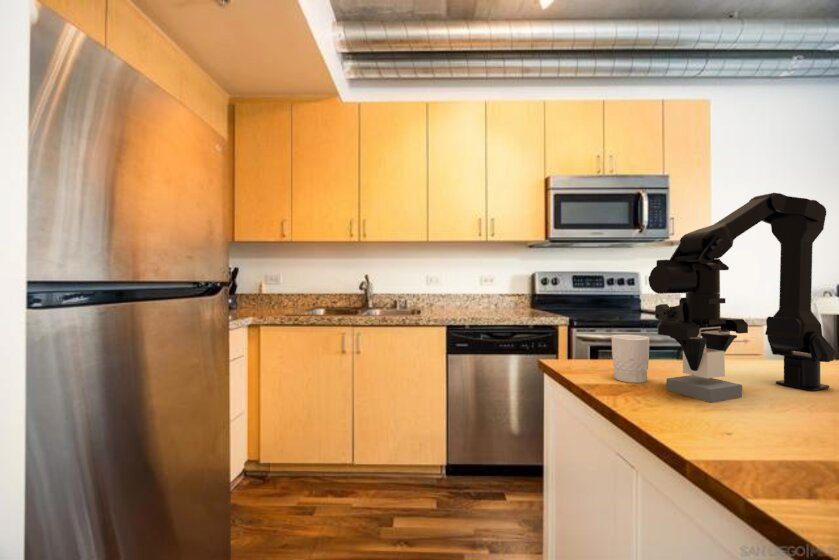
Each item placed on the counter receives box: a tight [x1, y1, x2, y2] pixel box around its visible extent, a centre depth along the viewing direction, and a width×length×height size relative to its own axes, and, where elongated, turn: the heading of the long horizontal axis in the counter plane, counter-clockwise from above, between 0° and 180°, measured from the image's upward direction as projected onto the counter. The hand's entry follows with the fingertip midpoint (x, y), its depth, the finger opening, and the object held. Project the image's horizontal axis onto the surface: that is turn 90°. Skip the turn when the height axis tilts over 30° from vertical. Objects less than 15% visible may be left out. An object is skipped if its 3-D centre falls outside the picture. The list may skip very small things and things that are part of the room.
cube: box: [682, 347, 726, 379], centre depth 80 cm, size 5×5×5 cm
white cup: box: [611, 334, 651, 384], centre depth 92 cm, size 8×8×10 cm
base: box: [666, 374, 743, 403], centre depth 81 cm, size 9×9×2 cm
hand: (703, 369), depth 81 cm, fingers closed on cube, 5 cm apart
